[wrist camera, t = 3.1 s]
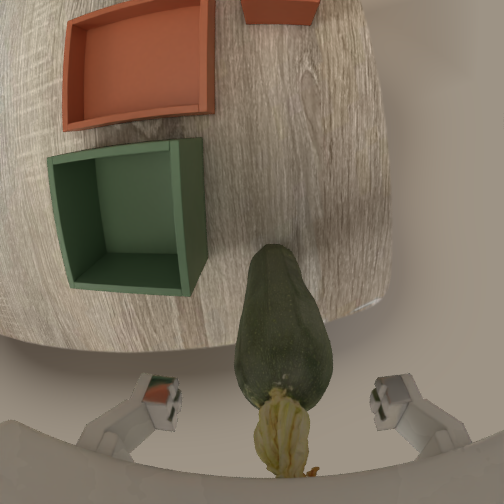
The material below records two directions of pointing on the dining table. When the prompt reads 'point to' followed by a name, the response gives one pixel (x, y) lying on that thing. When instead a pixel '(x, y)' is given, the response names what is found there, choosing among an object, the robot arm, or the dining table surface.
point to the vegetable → (281, 359)
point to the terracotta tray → (139, 63)
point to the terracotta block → (279, 11)
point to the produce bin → (132, 216)
